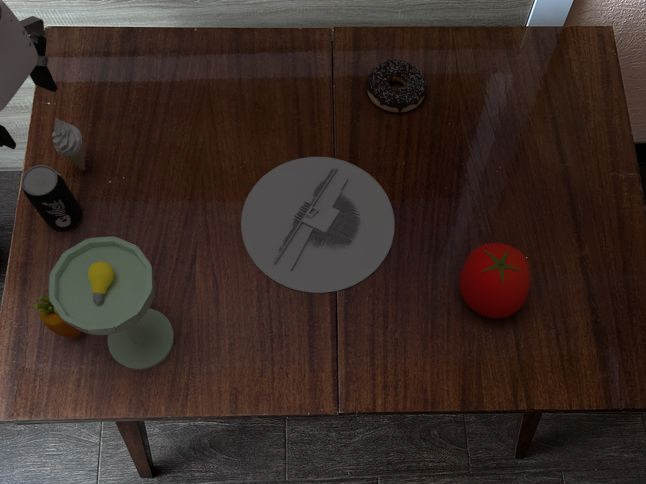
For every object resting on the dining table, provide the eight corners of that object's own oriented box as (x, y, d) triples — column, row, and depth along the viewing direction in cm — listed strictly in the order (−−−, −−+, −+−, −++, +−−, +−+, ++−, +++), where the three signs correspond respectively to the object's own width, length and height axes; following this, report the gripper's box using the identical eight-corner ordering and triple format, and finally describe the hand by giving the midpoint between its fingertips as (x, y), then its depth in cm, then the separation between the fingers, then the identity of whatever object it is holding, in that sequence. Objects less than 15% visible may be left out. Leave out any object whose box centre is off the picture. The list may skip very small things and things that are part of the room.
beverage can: (52, 238, 124) (24, 202, 112) (41, 208, 126) (13, 170, 114) (88, 225, 125) (64, 189, 114) (77, 196, 127) (53, 157, 115)
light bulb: (115, 265, 98) (115, 261, 95) (110, 306, 98) (109, 305, 95) (90, 261, 97) (89, 257, 94) (84, 303, 97) (83, 301, 94)
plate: (292, 134, 133) (292, 130, 132) (421, 200, 129) (422, 197, 128) (211, 246, 124) (210, 243, 123) (346, 320, 121) (346, 318, 120)
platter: (35, 311, 97) (29, 305, 95) (87, 230, 101) (82, 222, 99) (124, 350, 96) (119, 344, 93) (173, 266, 100) (169, 259, 98)
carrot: (90, 319, 119) (59, 282, 105) (92, 346, 117) (61, 312, 103) (61, 323, 119) (26, 287, 104) (62, 350, 117) (26, 317, 103)
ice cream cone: (103, 169, 129) (76, 117, 115) (81, 186, 127) (52, 135, 113) (85, 153, 130) (57, 99, 116) (64, 169, 128) (32, 117, 114)
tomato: (440, 278, 124) (455, 240, 111) (496, 255, 126) (517, 216, 113) (473, 338, 121) (492, 307, 107) (529, 314, 123) (555, 281, 109)
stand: (96, 354, 117) (51, 306, 97) (129, 300, 120) (91, 242, 101) (154, 380, 116) (120, 337, 96) (185, 324, 119) (159, 271, 100)
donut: (377, 62, 139) (378, 47, 136) (433, 80, 138) (436, 66, 135) (358, 105, 136) (359, 91, 132) (416, 123, 135) (418, 110, 131)
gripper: (-23, -58, 76) (37, 56, 92) (-119, 57, 71) (-38, 156, 87) (36, -35, 76) (86, 75, 92) (-56, 83, 70) (14, 178, 86)
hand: (26, 114), depth 89 cm, fingers open, 9 cm apart
